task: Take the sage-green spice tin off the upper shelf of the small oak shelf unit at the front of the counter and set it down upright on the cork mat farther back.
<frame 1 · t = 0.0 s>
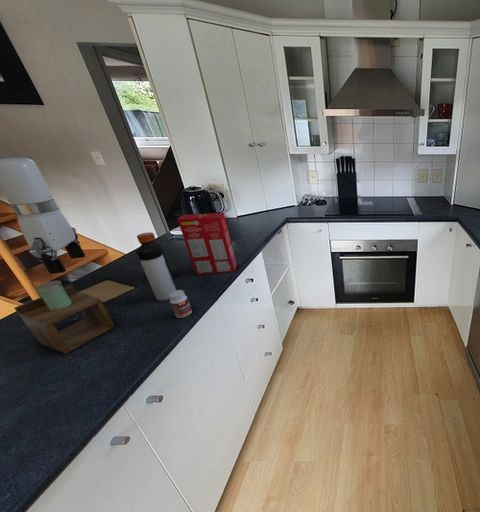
hand: (69, 264, 79), 21 cm above the worktop, tool pointing down, fingers open, 9 cm apart
food packaging: (217, 271, 119), on the worktop
shelf unit: (79, 335, 82), on the worktop
pill bottle: (184, 314, 92), on the worktop
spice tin: (60, 305, 78), point 11 cm above the worktop, touching shelf unit
cork mat: (106, 291, 103), on the worktop
travel mug: (167, 297, 101), on the worktop
vinegar: (163, 280, 111), on the worktop
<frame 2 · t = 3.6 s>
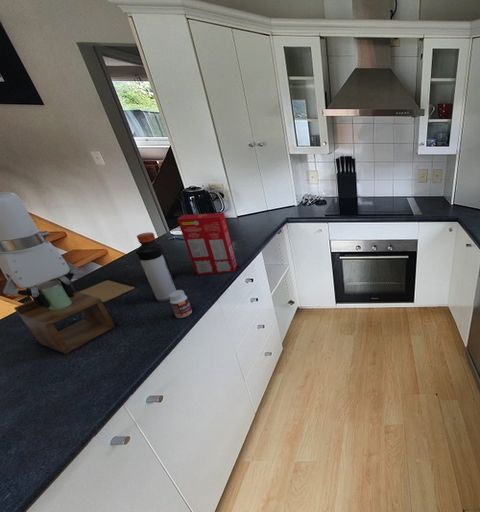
hand: (57, 300, 77), 13 cm above the worktop, tool pointing down, fingers closed on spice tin, 4 cm apart
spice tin: (60, 305, 78), point 11 cm above the worktop, touching gripper, shelf unit
everything else where it was.
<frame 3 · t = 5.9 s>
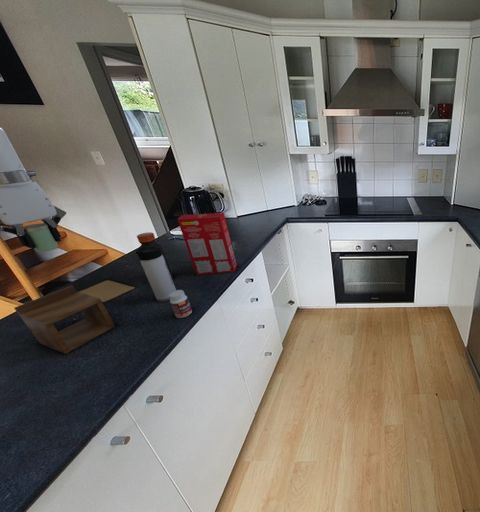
hand: (44, 243, 77), 27 cm above the worktop, tool pointing down, fingers closed on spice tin, 4 cm apart
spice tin: (47, 249, 78), point 25 cm above the worktop, touching gripper
everything else where it was.
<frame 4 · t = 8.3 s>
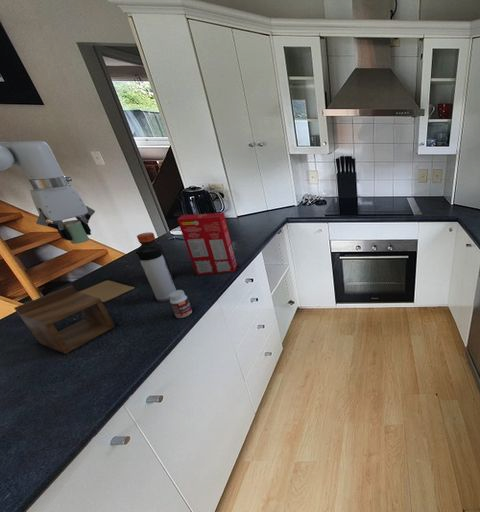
hand: (78, 236, 93), 22 cm above the worktop, tool pointing down, fingers closed on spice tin, 4 cm apart
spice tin: (80, 241, 94), point 21 cm above the worktop, touching gripper
everything else where it was.
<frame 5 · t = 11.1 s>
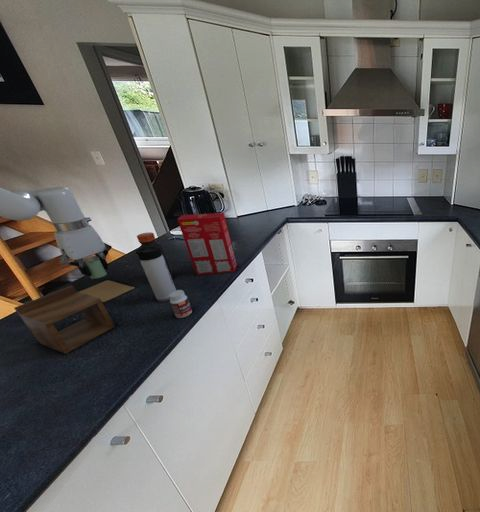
hand: (96, 271, 100), 9 cm above the worktop, tool pointing down, fingers closed on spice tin, 4 cm apart
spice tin: (98, 275, 100), point 7 cm above the worktop, touching gripper
everything else where it was.
when the fingers open (2 cm above the worktop, at t = 13.0 s): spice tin stays where it is, resting on cork mat.
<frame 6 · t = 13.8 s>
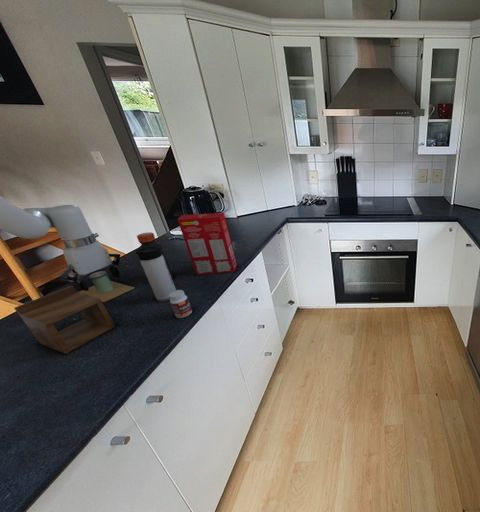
hand: (101, 283, 102), 4 cm above the worktop, tool pointing down, fingers open, 9 cm apart
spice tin: (106, 290, 103), resting on cork mat
everything else where it was.
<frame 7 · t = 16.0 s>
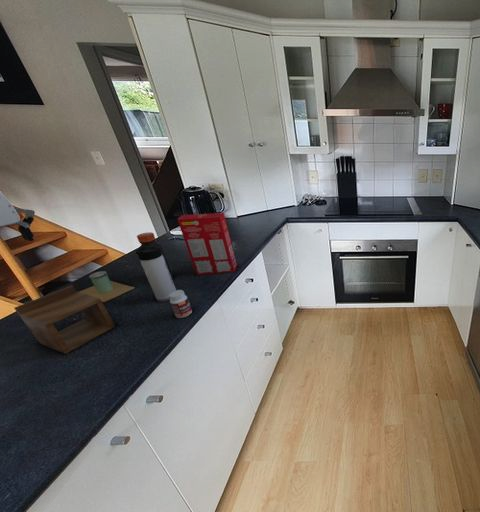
hand: (5, 246, 78), 26 cm above the worktop, tool pointing down, fingers open, 9 cm apart
nothing on the worktop moved.
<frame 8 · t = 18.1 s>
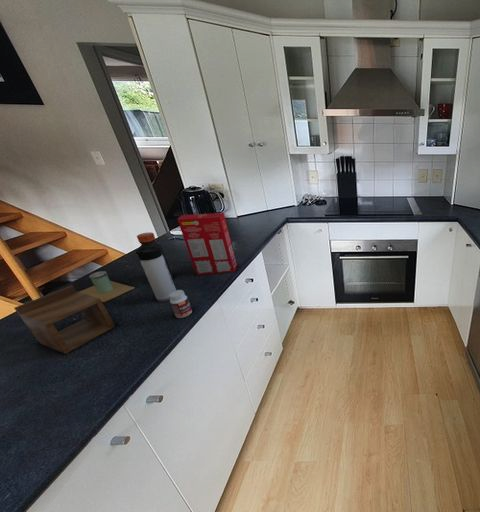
nothing on the worktop moved.
at the end: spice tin inside the target area on the cork mat (0.1 cm from its centre), point 0.4 cm above the cork mat's base; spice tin tilted 0°; the gripper is holding nothing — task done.
